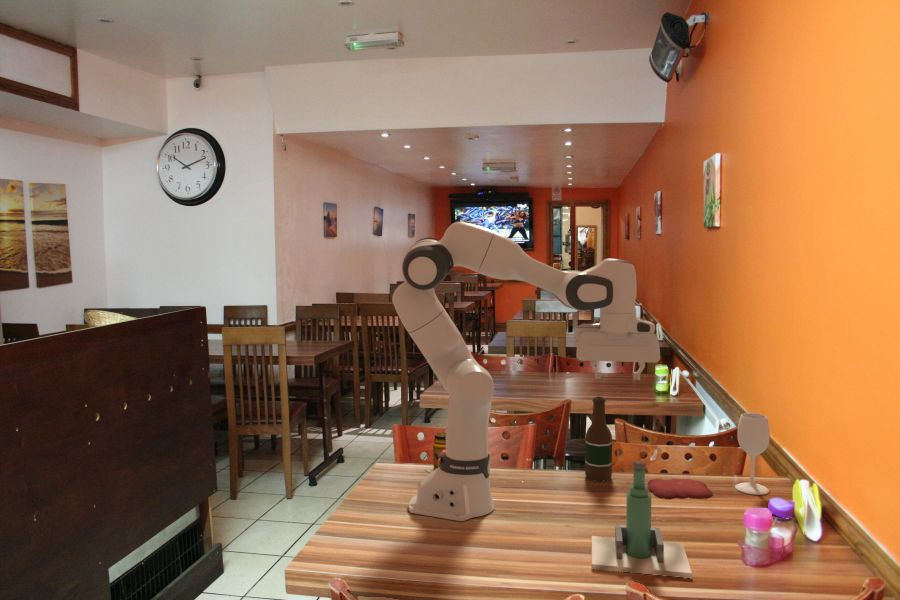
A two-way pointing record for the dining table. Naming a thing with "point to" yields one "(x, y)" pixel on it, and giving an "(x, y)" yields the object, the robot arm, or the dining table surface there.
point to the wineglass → (753, 446)
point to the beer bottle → (598, 445)
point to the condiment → (438, 449)
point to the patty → (679, 488)
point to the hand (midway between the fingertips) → (617, 379)
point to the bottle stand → (661, 562)
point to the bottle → (638, 515)
